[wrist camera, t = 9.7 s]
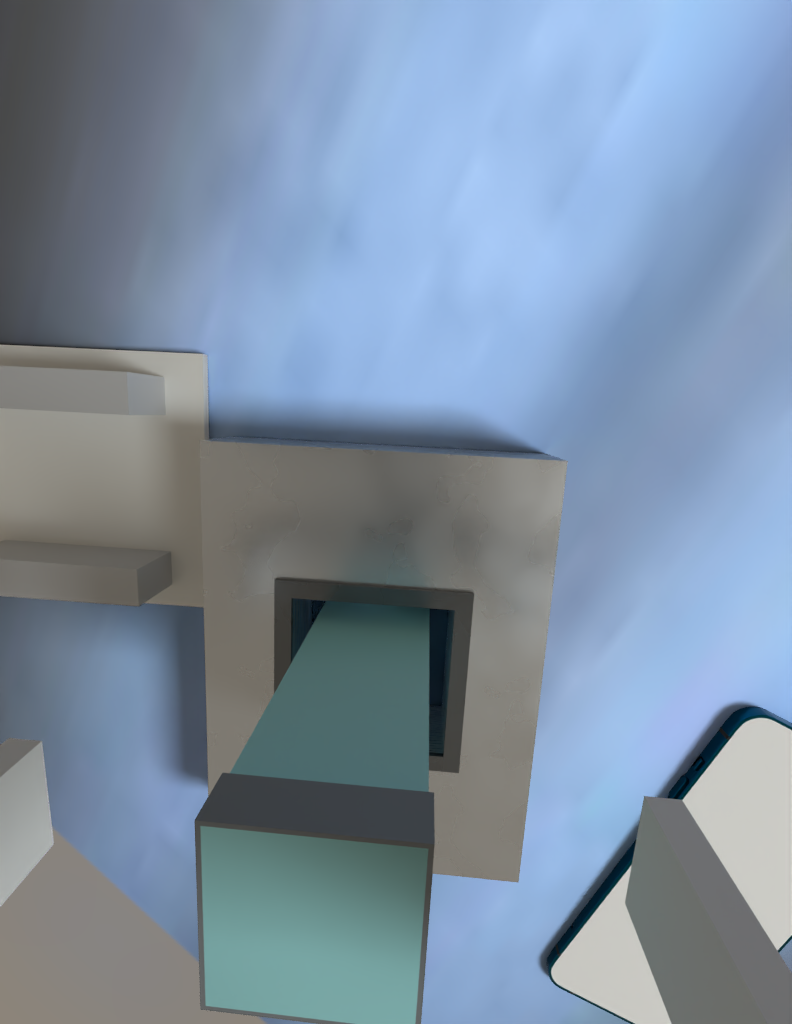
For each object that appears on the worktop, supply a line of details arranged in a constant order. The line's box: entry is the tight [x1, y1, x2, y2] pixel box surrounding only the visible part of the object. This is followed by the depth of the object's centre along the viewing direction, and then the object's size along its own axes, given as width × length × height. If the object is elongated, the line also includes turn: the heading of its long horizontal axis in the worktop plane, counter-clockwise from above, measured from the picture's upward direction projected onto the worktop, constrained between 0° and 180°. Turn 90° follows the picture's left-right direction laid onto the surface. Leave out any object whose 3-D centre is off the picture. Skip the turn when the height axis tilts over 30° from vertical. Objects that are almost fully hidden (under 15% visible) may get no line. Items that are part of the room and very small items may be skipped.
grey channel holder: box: [0, 345, 209, 607], centre depth 19 cm, size 10×10×3 cm
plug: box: [195, 601, 435, 1024], centre depth 15 cm, size 4×4×12 cm
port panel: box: [200, 436, 568, 882], centre depth 19 cm, size 16×12×3 cm
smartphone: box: [547, 707, 792, 1024], centre depth 22 cm, size 8×1×16 cm
